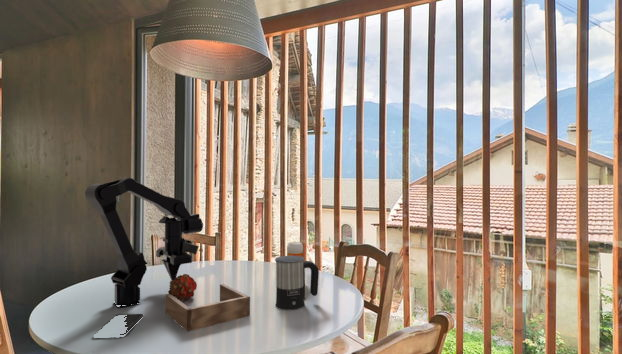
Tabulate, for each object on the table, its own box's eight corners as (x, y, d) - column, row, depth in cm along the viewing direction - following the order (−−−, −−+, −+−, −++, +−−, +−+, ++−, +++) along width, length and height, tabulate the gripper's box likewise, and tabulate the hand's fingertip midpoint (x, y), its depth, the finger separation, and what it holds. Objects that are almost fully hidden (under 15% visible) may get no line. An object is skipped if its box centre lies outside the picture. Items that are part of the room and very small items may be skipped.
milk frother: (284, 313, 114) (285, 262, 114) (259, 299, 127) (259, 253, 127) (323, 304, 123) (323, 257, 123) (295, 291, 135) (295, 249, 135)
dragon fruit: (177, 309, 121) (182, 303, 133) (200, 292, 123) (203, 287, 135) (160, 288, 121) (167, 283, 133) (184, 270, 123) (189, 267, 135)
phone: (91, 335, 95) (116, 314, 110) (91, 340, 95) (116, 318, 110) (124, 334, 96) (144, 313, 111) (124, 339, 96) (144, 317, 111)
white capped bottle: (302, 285, 144) (302, 244, 144) (286, 285, 144) (286, 244, 144) (303, 280, 150) (303, 241, 150) (287, 280, 150) (287, 241, 150)
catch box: (187, 331, 100) (187, 310, 100) (165, 313, 114) (165, 294, 114) (249, 315, 112) (250, 296, 112) (223, 300, 125) (223, 283, 125)
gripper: (206, 236, 133) (206, 282, 133) (185, 230, 147) (185, 271, 147) (174, 239, 126) (174, 287, 126) (155, 233, 140) (155, 276, 140)
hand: (173, 280), depth 135 cm, fingers closed
